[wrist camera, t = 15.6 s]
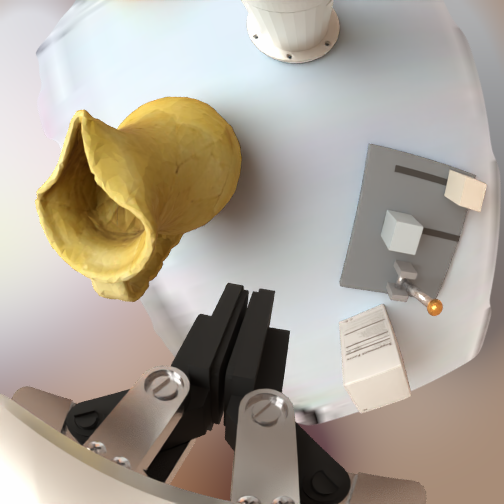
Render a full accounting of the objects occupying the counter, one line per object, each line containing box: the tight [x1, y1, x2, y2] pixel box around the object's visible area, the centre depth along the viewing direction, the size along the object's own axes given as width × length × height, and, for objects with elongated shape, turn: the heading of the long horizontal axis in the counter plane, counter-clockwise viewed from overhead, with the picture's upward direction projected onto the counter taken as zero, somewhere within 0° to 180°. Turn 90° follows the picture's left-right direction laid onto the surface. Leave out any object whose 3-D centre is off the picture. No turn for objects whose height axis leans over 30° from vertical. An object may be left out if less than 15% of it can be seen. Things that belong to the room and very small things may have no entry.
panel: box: [340, 144, 476, 302], centre depth 36 cm, size 22×18×5 cm
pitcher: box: [35, 97, 242, 302], centre depth 30 cm, size 17×19×25 cm
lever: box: [395, 276, 443, 316], centre depth 36 cm, size 2×2×9 cm
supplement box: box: [339, 304, 411, 413], centre depth 41 cm, size 9×9×15 cm
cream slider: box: [444, 170, 487, 212], centre depth 30 cm, size 4×4×5 cm
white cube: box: [381, 210, 423, 255], centre depth 35 cm, size 4×4×5 cm
